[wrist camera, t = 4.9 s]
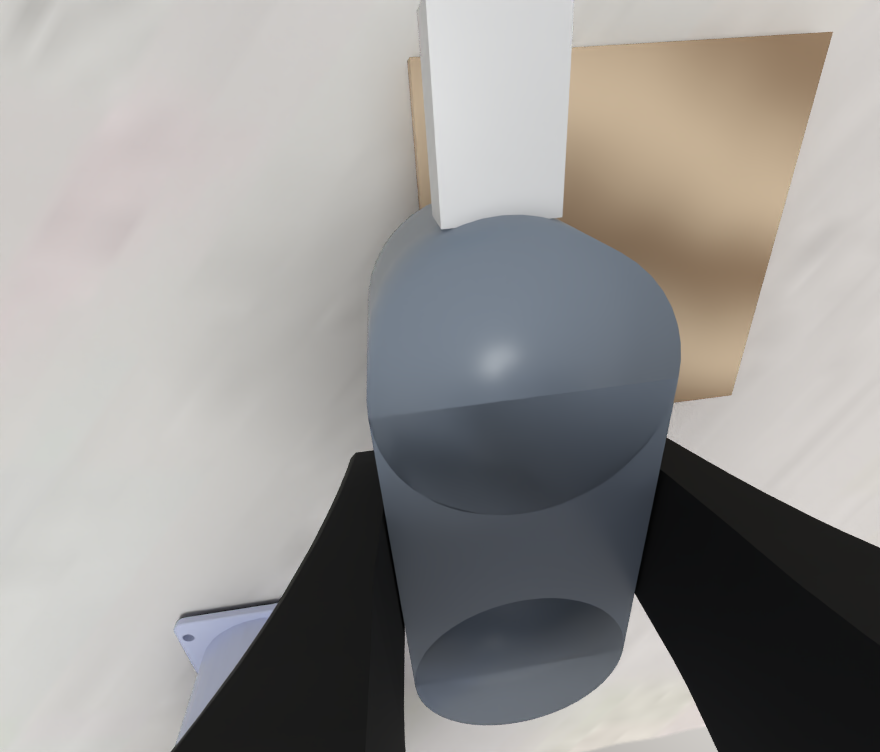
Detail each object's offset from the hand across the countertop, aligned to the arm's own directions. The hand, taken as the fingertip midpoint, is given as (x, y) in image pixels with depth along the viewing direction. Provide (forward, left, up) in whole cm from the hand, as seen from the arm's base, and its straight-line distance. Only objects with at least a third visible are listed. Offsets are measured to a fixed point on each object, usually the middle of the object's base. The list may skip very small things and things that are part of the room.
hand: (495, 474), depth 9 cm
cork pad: (+2, -6, -9) cm, 10 cm away
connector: (+1, 0, -1) cm, 2 cm away
